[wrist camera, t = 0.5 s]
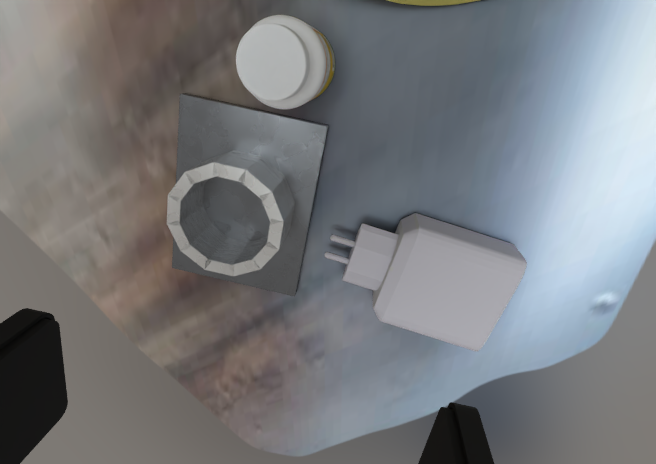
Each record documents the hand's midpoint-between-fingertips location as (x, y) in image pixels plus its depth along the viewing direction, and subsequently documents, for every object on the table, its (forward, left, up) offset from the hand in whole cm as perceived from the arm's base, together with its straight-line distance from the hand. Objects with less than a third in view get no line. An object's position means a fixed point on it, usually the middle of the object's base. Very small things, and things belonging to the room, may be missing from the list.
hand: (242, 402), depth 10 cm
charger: (+7, +8, -26) cm, 28 cm away
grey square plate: (+5, -7, -26) cm, 27 cm away
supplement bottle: (-7, -4, -26) cm, 27 cm away
